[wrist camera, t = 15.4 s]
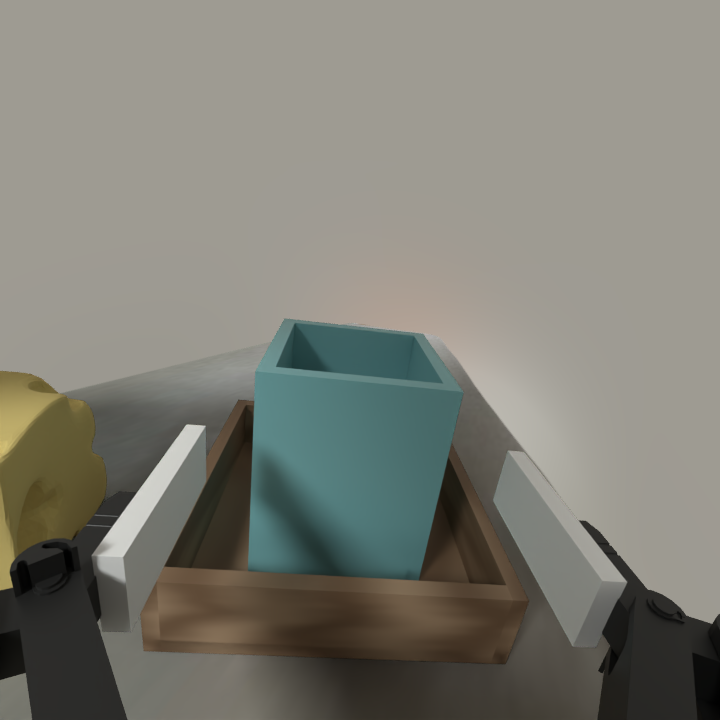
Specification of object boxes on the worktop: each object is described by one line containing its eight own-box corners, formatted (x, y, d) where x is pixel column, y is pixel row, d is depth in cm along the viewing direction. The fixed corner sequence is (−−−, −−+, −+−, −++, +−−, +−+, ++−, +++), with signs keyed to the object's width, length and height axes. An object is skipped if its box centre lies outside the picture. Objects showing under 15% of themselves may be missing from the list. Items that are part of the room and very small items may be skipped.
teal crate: (247, 572, 22) (255, 371, 18) (275, 467, 32) (284, 318, 27) (418, 581, 23) (463, 392, 19) (395, 476, 33) (422, 333, 28)
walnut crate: (143, 651, 19) (137, 580, 17) (237, 444, 35) (238, 399, 34) (505, 664, 20) (529, 601, 19) (430, 459, 37) (439, 418, 35)
